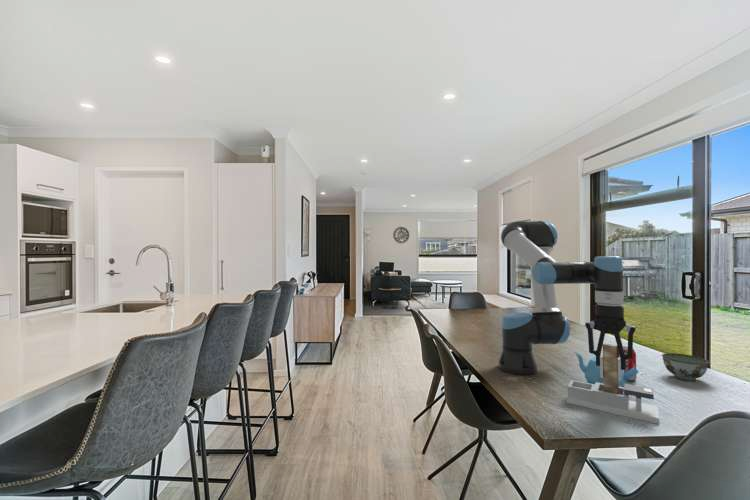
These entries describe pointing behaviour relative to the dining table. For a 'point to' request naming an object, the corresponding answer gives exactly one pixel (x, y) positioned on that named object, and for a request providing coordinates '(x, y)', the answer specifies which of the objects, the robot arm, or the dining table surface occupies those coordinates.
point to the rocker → (638, 391)
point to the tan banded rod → (610, 368)
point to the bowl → (685, 366)
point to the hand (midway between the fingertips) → (610, 377)
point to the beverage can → (629, 362)
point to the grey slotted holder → (610, 401)
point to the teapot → (594, 372)
